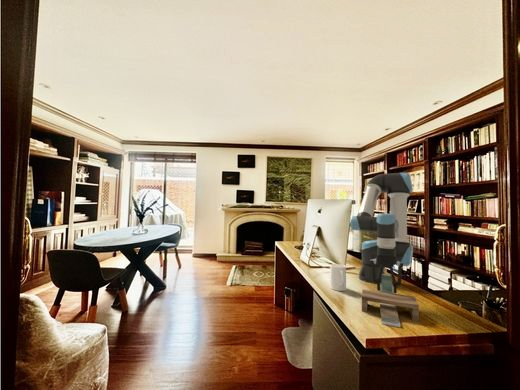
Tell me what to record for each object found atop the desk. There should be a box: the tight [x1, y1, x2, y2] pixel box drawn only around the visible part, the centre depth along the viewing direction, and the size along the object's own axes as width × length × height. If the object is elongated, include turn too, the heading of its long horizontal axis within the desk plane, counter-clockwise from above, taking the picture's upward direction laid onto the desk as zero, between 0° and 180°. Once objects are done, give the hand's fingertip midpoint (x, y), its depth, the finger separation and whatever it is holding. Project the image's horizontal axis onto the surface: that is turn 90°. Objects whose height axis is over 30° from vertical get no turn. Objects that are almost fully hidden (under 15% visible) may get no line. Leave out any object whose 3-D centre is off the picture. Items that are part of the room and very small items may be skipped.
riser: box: [361, 288, 420, 322], centre depth 100 cm, size 10×20×6 cm, turn 65°
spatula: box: [379, 273, 399, 318], centre depth 103 cm, size 20×6×12 cm, turn 155°
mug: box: [329, 263, 347, 292], centre depth 127 cm, size 12×8×12 cm
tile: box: [380, 314, 401, 328], centre depth 91 cm, size 6×6×2 cm
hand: (386, 298), depth 110 cm, fingers closed on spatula, 4 cm apart
